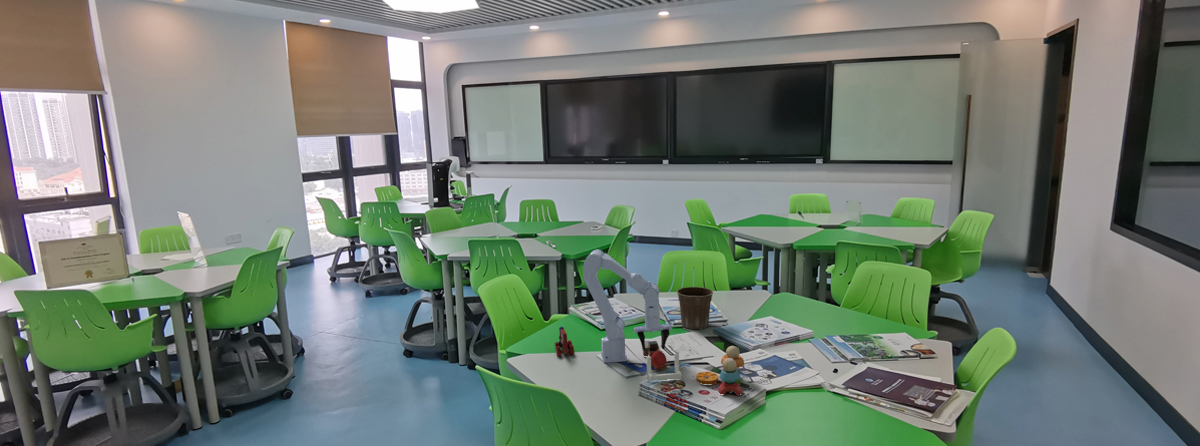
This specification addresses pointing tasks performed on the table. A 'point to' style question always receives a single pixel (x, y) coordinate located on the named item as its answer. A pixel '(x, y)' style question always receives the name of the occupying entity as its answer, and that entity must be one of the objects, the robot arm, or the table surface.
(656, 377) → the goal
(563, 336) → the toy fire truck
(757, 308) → the table surface
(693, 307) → the plant pot
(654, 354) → the onion
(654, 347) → the rod
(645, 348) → the tan rectangular collar
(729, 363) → the wooden toy figures
